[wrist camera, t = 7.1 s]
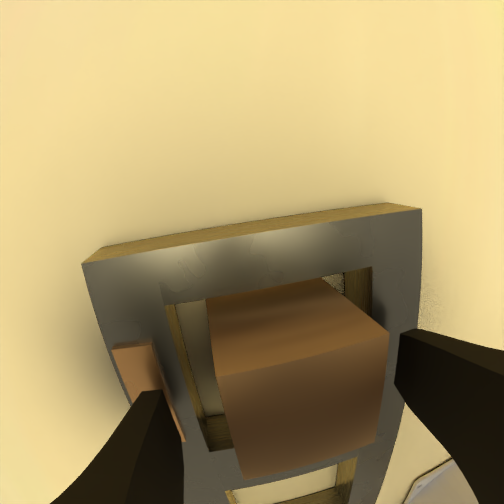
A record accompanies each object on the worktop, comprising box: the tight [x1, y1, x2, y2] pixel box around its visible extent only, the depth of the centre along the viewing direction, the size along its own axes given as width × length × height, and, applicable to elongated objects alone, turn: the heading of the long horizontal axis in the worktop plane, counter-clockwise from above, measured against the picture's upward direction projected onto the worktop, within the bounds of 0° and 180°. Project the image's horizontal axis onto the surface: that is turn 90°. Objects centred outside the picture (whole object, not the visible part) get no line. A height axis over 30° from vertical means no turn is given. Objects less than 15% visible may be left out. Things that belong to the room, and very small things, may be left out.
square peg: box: [206, 277, 390, 480], centre depth 9 cm, size 4×4×4 cm
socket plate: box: [81, 203, 422, 504], centre depth 11 cm, size 18×10×2 cm, turn 8°
